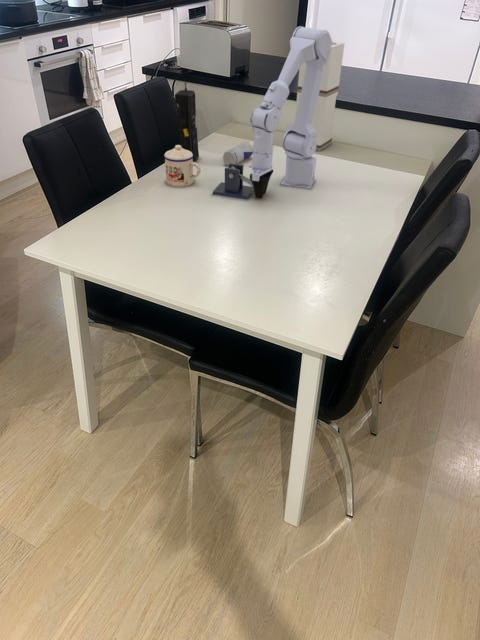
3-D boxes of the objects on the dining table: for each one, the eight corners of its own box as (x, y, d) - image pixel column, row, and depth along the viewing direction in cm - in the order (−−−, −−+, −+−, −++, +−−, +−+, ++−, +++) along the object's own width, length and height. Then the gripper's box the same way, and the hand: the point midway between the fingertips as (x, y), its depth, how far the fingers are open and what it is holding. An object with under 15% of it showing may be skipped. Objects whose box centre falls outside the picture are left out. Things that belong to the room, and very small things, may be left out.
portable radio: (193, 165, 176) (191, 88, 161) (176, 164, 177) (173, 87, 161) (199, 158, 182) (197, 83, 167) (183, 156, 183) (180, 81, 168)
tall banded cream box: (331, 143, 198) (344, 43, 177) (319, 151, 191) (332, 47, 170) (304, 138, 203) (315, 39, 182) (292, 145, 196) (301, 43, 175)
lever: (262, 192, 157) (267, 184, 155) (260, 196, 154) (264, 188, 153) (229, 172, 156) (233, 164, 154) (226, 176, 154) (230, 167, 152)
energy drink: (234, 168, 175) (252, 159, 183) (236, 153, 172) (254, 144, 180) (221, 164, 177) (240, 154, 185) (223, 149, 173) (242, 140, 182)
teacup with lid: (160, 184, 162) (157, 147, 155) (174, 174, 169) (172, 139, 162) (193, 191, 158) (192, 154, 151) (206, 181, 165) (206, 145, 158)
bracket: (254, 190, 160) (255, 164, 155) (247, 200, 154) (247, 173, 149) (221, 185, 162) (221, 160, 157) (212, 195, 156) (212, 168, 151)
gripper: (256, 142, 154) (254, 184, 162) (242, 157, 143) (241, 202, 151) (278, 144, 153) (275, 187, 161) (266, 160, 141) (264, 206, 150)
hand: (260, 195), depth 156 cm, fingers closed on lever, 3 cm apart
